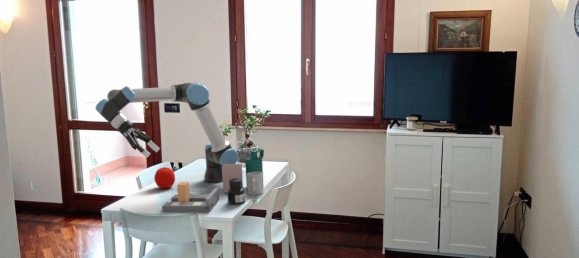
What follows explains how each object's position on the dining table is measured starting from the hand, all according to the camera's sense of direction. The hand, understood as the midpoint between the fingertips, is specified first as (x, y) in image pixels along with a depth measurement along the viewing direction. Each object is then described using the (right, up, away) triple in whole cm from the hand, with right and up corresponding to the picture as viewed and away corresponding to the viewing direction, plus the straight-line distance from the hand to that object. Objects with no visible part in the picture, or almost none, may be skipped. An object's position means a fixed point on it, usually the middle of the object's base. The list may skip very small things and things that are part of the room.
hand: (153, 153), depth 234 cm
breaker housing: (+19, -27, +3) cm, 33 cm away
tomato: (-4, -23, +37) cm, 44 cm away
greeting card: (+36, -23, +27) cm, 51 cm away
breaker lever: (+15, -25, +3) cm, 30 cm away
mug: (+50, -24, +21) cm, 59 cm away
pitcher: (+50, -22, +34) cm, 64 cm away
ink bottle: (+42, -26, +6) cm, 49 cm away
